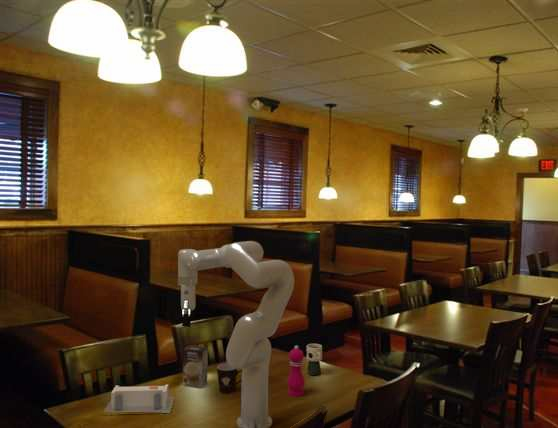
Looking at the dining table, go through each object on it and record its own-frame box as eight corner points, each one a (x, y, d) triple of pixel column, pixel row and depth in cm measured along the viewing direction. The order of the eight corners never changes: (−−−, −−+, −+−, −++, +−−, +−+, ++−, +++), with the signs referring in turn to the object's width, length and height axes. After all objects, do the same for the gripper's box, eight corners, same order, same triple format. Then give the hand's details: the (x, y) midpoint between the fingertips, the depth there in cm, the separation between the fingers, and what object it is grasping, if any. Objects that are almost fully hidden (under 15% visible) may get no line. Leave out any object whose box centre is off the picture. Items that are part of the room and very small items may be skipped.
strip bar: (165, 407, 187) (165, 389, 186) (111, 408, 185) (111, 391, 185) (168, 399, 194) (168, 382, 193) (115, 400, 192) (115, 383, 192)
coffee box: (182, 386, 211) (182, 348, 210) (188, 381, 217) (188, 344, 217) (202, 388, 209) (202, 351, 208) (208, 383, 215) (208, 346, 214)
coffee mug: (212, 392, 205) (212, 368, 205) (224, 385, 213) (224, 362, 212) (236, 397, 200) (236, 373, 199) (247, 390, 207) (247, 366, 207)
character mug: (301, 371, 231) (302, 343, 230) (315, 369, 234) (315, 341, 233) (312, 379, 221) (313, 350, 220) (326, 376, 224) (327, 348, 223)
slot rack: (170, 413, 184) (170, 396, 184) (103, 415, 182) (103, 398, 182) (174, 400, 196) (174, 384, 196) (111, 402, 194) (111, 385, 194)
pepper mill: (303, 397, 200) (303, 348, 200) (285, 396, 202) (286, 347, 201) (305, 390, 207) (306, 343, 207) (288, 389, 209) (289, 342, 208)
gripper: (195, 284, 189) (195, 328, 189) (198, 276, 206) (198, 317, 207) (175, 284, 188) (175, 329, 189) (180, 276, 205) (180, 317, 206)
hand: (187, 323), depth 198 cm, fingers open, 9 cm apart
